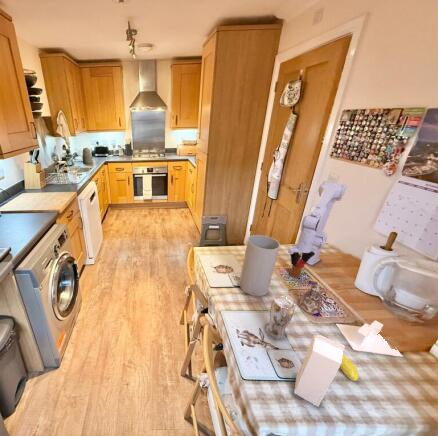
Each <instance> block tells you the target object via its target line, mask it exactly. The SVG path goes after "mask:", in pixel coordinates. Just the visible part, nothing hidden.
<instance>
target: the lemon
mask: <svg viewBox="0 0 438 436" xmlns="http://www.w3.org/2000/svg"><path fill="white" fill-rule="evenodd" d="M339 369H341V370H342V372H343V373H344V375H345V376H346V377H347V378H348V379H349V380H351V381H354V382H355V381H357V380H358V379H359V371H358V369H357V367H356V366H355V364H354V363H353V362H352V360H351V359H349V358H348V357H347V356H346V355H345V354H343V356H342V362H341V365H340V367H339Z"/></svg>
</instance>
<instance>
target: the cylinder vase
mask: <svg viewBox="0 0 438 436" xmlns="http://www.w3.org/2000/svg"><path fill="white" fill-rule="evenodd" d="M280 248H281V244H280V242H279V241H278V240H276V239H275V238H273V237H270V236H268V235H263V234H253V235H250V236H249V237H248V238H247V242H246V247H245V252H244V255H243V262H242V267H241V270H240V271H241V272H240V277H239V281H238V285H239V287H240V289H241V291H243V292H244V293H246V294H248V295H250V296H253V297H264V296H265V295H267V294H268V292H269V288H270V285H271V281H272V277H273V274H274V270H275V266H276V263H277V258H278V255H279V252H280Z"/></svg>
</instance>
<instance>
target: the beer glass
mask: <svg viewBox="0 0 438 436" xmlns="http://www.w3.org/2000/svg"><path fill="white" fill-rule="evenodd" d="M295 308H296V304H295V302H294V300H292V298H290V297H288V296H286V295H276V296H274V297H273V300H272V302H271V306H270V309H269V310H270V311H269V322H268V324H267V326H266V327H265V330H266V333H267V334H268V336H270V337H271V338H273V339H275V340H282V339H284V337H285V331H286V329H287V327H288V326H289V324H290V322H291V321H292V320H293V317H294V313H295Z"/></svg>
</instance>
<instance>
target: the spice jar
mask: <svg viewBox="0 0 438 436" xmlns="http://www.w3.org/2000/svg"><path fill="white" fill-rule="evenodd" d="M291 265H292V264H291ZM302 270H303V268H297V267H295V266H293V265H292V266H291V269H290V273H289V276H291V278H294V279H299V278H300V277H301V273H302Z"/></svg>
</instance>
